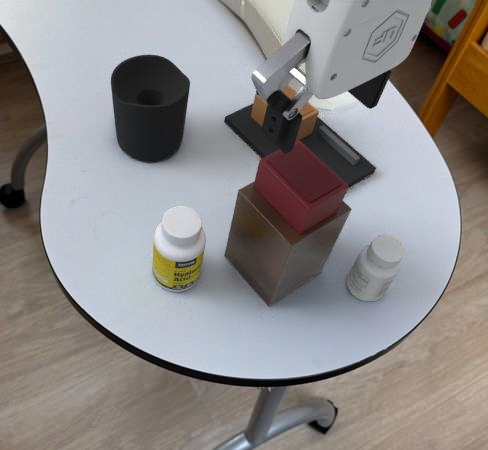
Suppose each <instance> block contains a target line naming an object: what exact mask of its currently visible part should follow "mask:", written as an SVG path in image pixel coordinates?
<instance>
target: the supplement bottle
mask: <svg viewBox="0 0 488 450" xmlns="http://www.w3.org/2000/svg"><path fill="white" fill-rule="evenodd" d="M206 243H207V236H206V231H205V230H204V228H203V220H202V217H201V215H200V214H199V212H198V211H197V210H195V209H194V208H192V207H190V206H187V205H176V206H173V207H171V208H169V209H167V210H166V211H165V212H164V214H163V216H162V219H161V222H160V223H159V224H158V225H157V227H156V229H155V231H154V234H153V247H152V266H151V269H152V270H151V271H152V277H153V279H154V281H155V282H156V283H157V284H158V286H160V287H161V288H162V289H164V290H166V291H168V292H174V293H180V292H181V293H182V292H185V291H187V290H190V289H191V288H193V287H194V286H195V285H196V284H197V282H198V281H199V278H200V276H201V271H202V267H203V262H204V261H203V260H204V255H205V249H206Z"/></svg>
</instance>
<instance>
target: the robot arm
mask: <svg viewBox="0 0 488 450" xmlns="http://www.w3.org/2000/svg"><path fill="white" fill-rule="evenodd" d="M432 1H433V0H294V1H293V4H292V7H291V10H290V14H289V17H288V20H287V24H286V27H285V32H284V34H283V35H284V36H283V40H282V45H281V47H279V48H278V49H277V50H276V51H275V52H274V53H273V54H272V55H270V56H269V57H268V58H267V59H266V60H265V61H264V62H262V63H261V64H260V65H259V66H258V67H256V69H255V70H254V71H253V72H252V73H251V81H252V84H253V86H254V89H255V94H257V95H258V96H259V97H260V98H261V99H262V100H264V101H265V102H266V103H267V109H266V113H265V117H264V121H263V125H262V132H263V133H264V134H265V136H266V137H267V138H268V139H269V140H270V141H271V142H272V143H274V144H275V145H276V146H277V147H278V148H279V149H280V150H281V151H282V152H283V153H284V154H287V153H289V152H291V151H292V150H293V147H294V144H295V141H296V137H297V134H298V131H299V128H300V125H301V122H302V118H303V117H302V115H301V114H300V113H299V112H300V110H301V109H302V108H303V107H304V106H305V104H306V103H307V102H308V103H309V101H310V99H311V98H313V96H314V98H316V99H317V100H328V99H332V98H335V97H338V96H339V95H341V94H344V93H349V94H350V95H351V96H352V97H354V98H355V99H356V100H357V101H358V102H360V103H361V104H362V105H363V106H364V107H366V108H367V109H371V110H372V109H373V108H375V107H377V106H378V104H379V102H380V99H381V97H382V95H383V93H384V92H385V91H384V90H385V88H386V86H387V84H388V83H389V82H388V81H389V79H390V77H391V75H392V71H391V70H393V69H394V68H396V67H397V66H399V65H400V64H402V63H403V62H404V61H405V60H406V59H407V58H408V57H409V55H410V53H411V51H412V49H413V47H414V45H415V43H416V41H417V38H418V36H419V34H420V31H421V29H422V26H423V24H424V21H425V19H426V17H427V15H428V14H429V12H430V11H431V10H432ZM302 64H304V67H305V69H304V70H305V72H303V71H302V70H301V69H300V67H301V65H302ZM293 78H294V79H295V80H296V81H298V82H299V83H300V84H301V85H302V86H301V87H300V89H299V90H298V91H296V92H297V94H296V95H295V96H294V97H293V99H292V100H291V99H290V98H289V97H288V96H287V95H286V94H284V93H283V92H282V91H283V90H284V89H285V87H286V86H287V85H289V83H290V82H291V81H292V80H293Z"/></svg>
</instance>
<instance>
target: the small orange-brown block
mask: <svg viewBox="0 0 488 450" xmlns="http://www.w3.org/2000/svg"><path fill="white" fill-rule="evenodd" d="M282 92H283V93H284V94H286V95H287V96H288V97H289V98H290V99H291V100H292V99H293V97H294V96H295V95H296V94H297V92H298V91H296V90H295V89H294V88H292V87H291V86H290V85H289V84H288V85H287V86H286V87H285V89H284V90H283V91H282ZM252 104H253V108H252V113H251V117H252V118H253V119H254V120H255V121H256V122H257V123H258V124H259V125H260V126H262V125H263V121H264V117H265V113H266V109H267V103H266V102H265V101H264V100H262V99H261V98H260V97H259V96H258V95H257V94H256V93H255V94H254V99H253V103H252ZM299 113H300V114H301V115H302V117H303V118H302V122H301V125H300V128H299V131H298V134H297V137H296V141H297V140H300V139H302V138H304V137H306V136H308V135H310V134H312V131H313V128H314V125H315V122H316V119H317V116H318V117H319V113H320V111H319V110H318V109H316V107H315V106H313V105H312V104H311V103H309V101H308V102H307V103H306V104H305V106H304V107H303V108H302V109H301V110H300V112H299Z"/></svg>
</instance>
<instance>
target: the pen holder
mask: <svg viewBox="0 0 488 450" xmlns="http://www.w3.org/2000/svg"><path fill="white" fill-rule="evenodd" d="M190 88H191V80H190V79H189V77H188V76H187V75H186V74H185V73H184V72H183V71H182V70H181V69H180V68H179V67H178V66H177V65H176V64H175V63H174V62H172V61H171V60H170V59H169V58H166V57H164V56H162V55H157V54H141V55H140V54H139V55H135V56H131V57H129V58H127V59H124V60H122V61H121V62H120V63H119V64H117V66H115V67H114V69H113V70H112V72H111V76H110V89H111V98H112V108H113V109H112V110H113V119H114V127H115V128H114V129H115V135H116V141H117V144H118V146H119V148H120V149H121V151H122V152H123V153H125V154H126V155H127V156H129V157H130V158H132V159H134V160H136V161H141V162H146V163H148V162H149V163H152V162H153V163H155V162H160V161H164V160H166V159H168V158H170V157H172V156H173V155H174V154H176V153H177V151H179V149H180V147H181V146H182V143H183V138H184V131H185V125H186V120H187V119H186V118H187V111H188V103H189V98H190V97H189V96H190V90H191V89H190Z"/></svg>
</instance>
